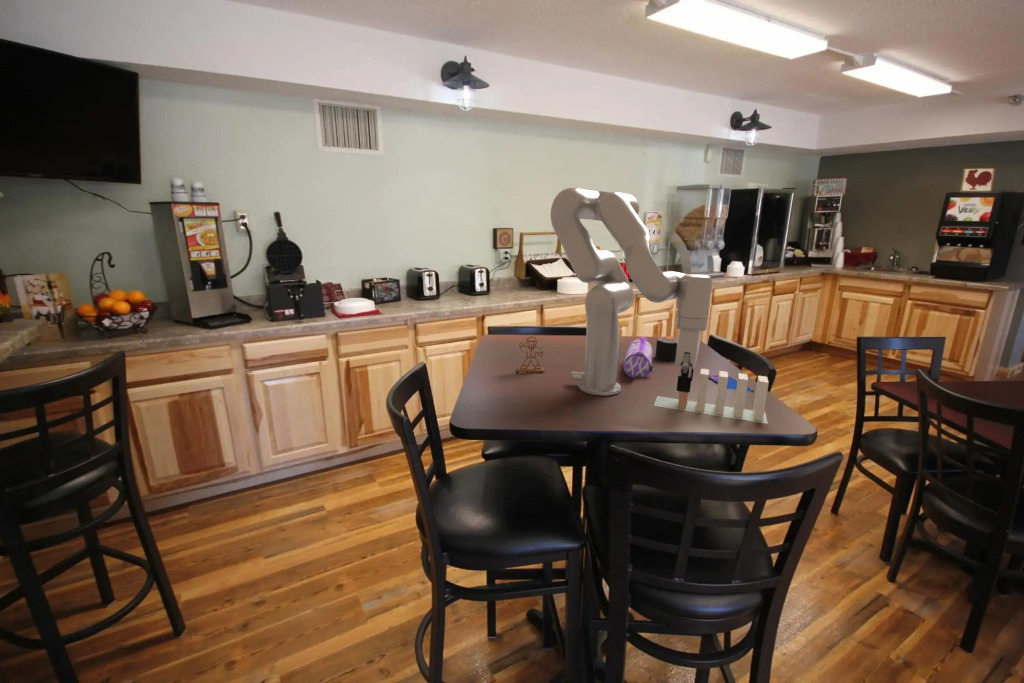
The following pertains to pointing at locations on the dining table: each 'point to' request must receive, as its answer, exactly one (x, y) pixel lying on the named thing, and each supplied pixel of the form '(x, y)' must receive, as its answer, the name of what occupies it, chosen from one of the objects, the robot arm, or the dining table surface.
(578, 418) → the dining table surface
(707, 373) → the domino
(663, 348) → the sushi
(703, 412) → the board
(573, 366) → the dining table surface
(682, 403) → the domino
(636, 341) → the pencil case
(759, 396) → the domino
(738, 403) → the domino
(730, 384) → the smartphone
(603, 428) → the dining table surface
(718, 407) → the domino
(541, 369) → the gingerbread man figurine
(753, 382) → the dining table surface
